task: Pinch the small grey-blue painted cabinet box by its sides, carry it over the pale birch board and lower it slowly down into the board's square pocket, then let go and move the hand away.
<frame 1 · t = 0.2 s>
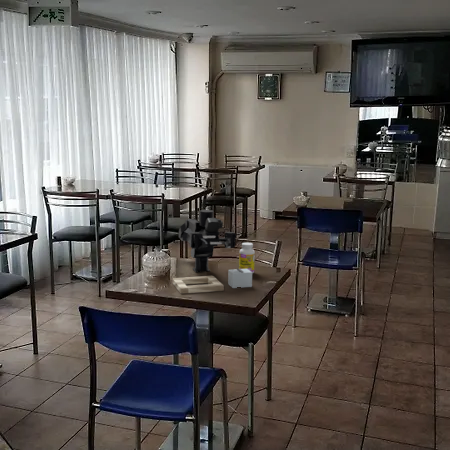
hand: (218, 245, 237), 17 cm above the table, fingers open, 9 cm apart
grey-blue cabinet box: (239, 285, 242), on the table
birch pocket board: (197, 286, 239), on the table
supplement bottle: (246, 273, 262), on the table
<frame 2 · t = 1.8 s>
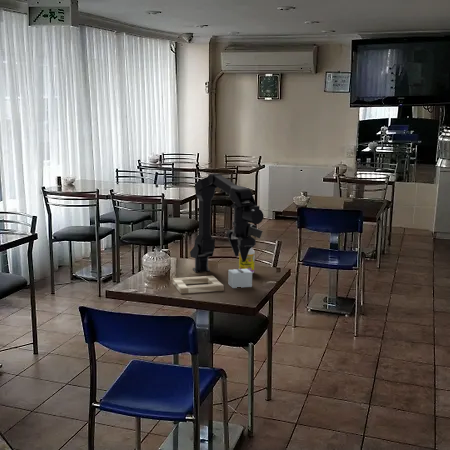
hand: (240, 258, 241), 11 cm above the table, fingers open, 9 cm apart
nothing on the table moved.
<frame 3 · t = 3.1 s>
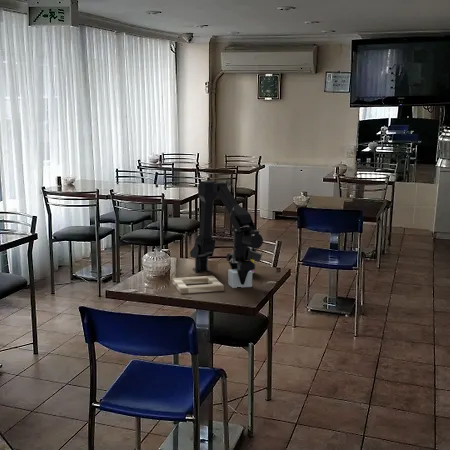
hand: (240, 282, 242), 1 cm above the table, fingers closed on grey-blue cabinet box, 6 cm apart
grey-blue cabinet box: (239, 285, 242), on the table, touching gripper
everything else where it was.
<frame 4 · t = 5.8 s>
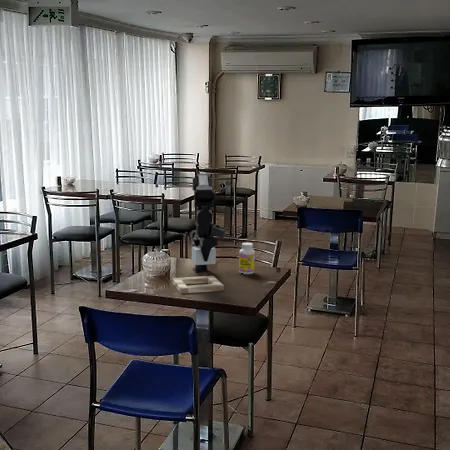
hand: (203, 259, 238), 11 cm above the table, fingers closed on grey-blue cabinet box, 6 cm apart
grey-blue cabinet box: (203, 262, 238), point 10 cm above the table, touching gripper
everything else where it was.
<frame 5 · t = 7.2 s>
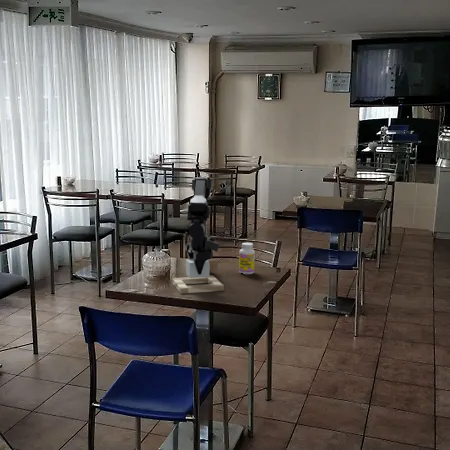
hand: (197, 272, 238), 6 cm above the table, fingers closed on grey-blue cabinet box, 6 cm apart
grey-blue cabinet box: (197, 275, 239), point 5 cm above the table, touching gripper
everything else where it was.
when the fingers open (3 cm above the table, at t = 8.3 s): grey-blue cabinet box drops 2 cm, resting in birch pocket board.
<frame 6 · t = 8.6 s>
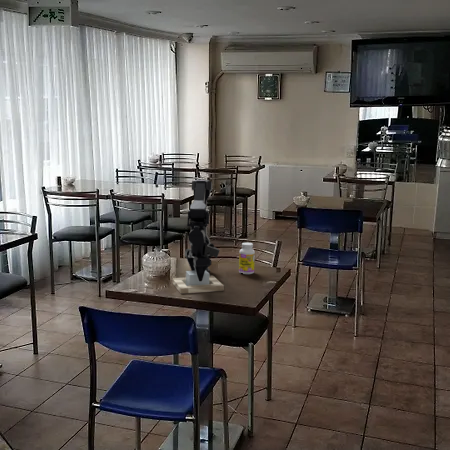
hand: (197, 278, 239), 3 cm above the table, fingers open, 9 cm apart
grey-blue cabinet box: (197, 287, 240), resting in birch pocket board
everything else where it was.
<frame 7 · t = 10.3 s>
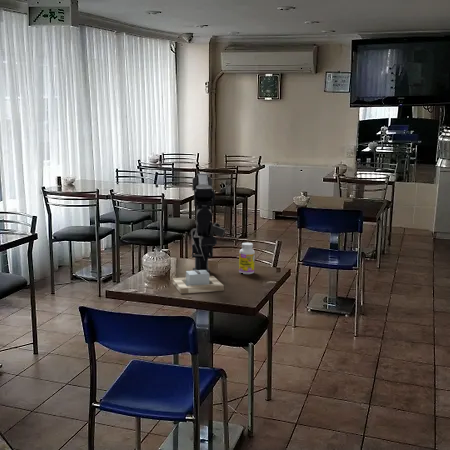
hand: (203, 257, 241), 11 cm above the table, fingers open, 9 cm apart
nothing on the table moved.
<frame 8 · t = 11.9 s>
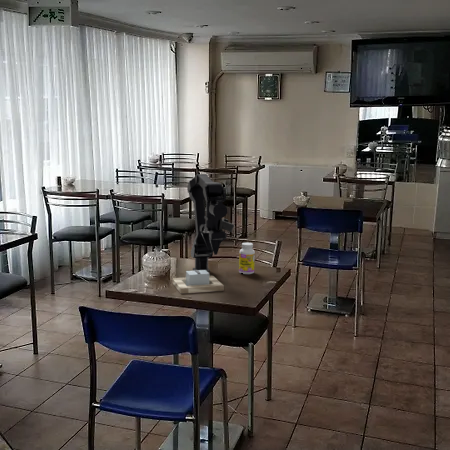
hand: (212, 252, 246), 12 cm above the table, fingers open, 9 cm apart
nothing on the table moved.
at the end: grey-blue cabinet box 0.1 cm off-centre on the birch pocket board, point 0.0 cm above the birch pocket board's base; grey-blue cabinet box tilted 0°; the gripper is holding nothing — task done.
